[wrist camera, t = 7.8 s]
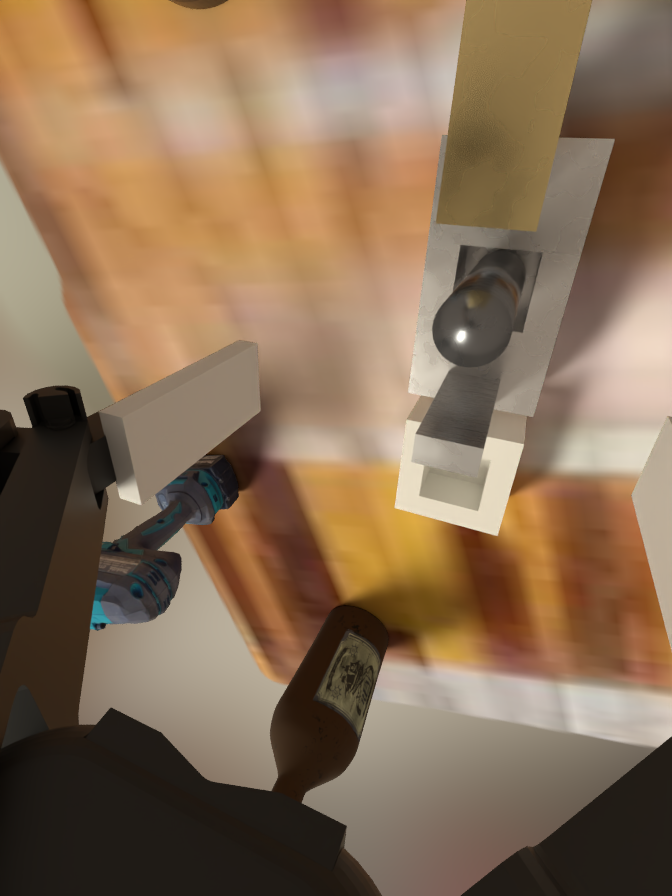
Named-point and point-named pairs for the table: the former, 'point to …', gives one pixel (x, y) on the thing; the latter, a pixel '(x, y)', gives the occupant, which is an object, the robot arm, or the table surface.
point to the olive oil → (327, 702)
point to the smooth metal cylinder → (481, 311)
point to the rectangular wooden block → (508, 109)
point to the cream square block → (463, 476)
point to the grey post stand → (537, 320)
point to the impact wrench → (136, 554)
